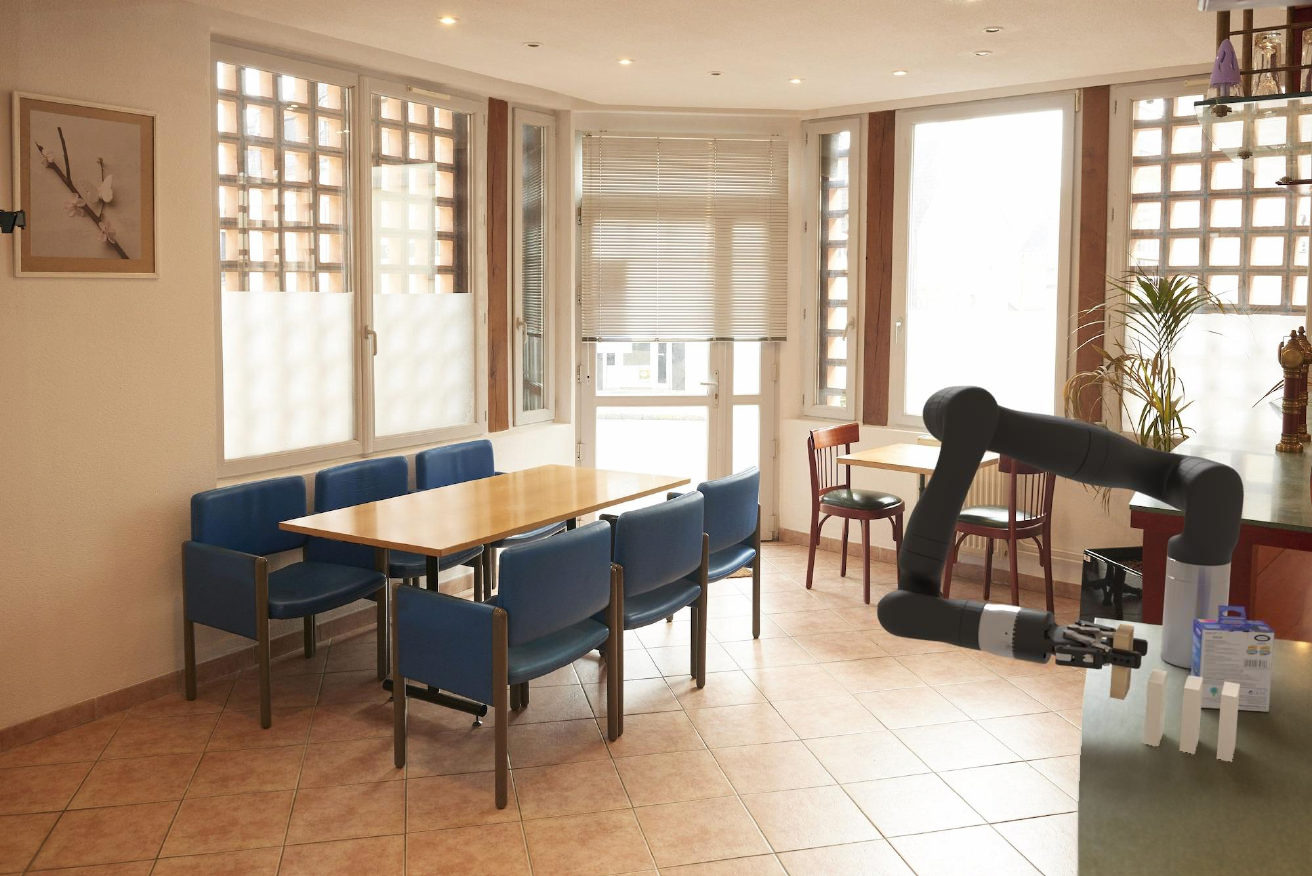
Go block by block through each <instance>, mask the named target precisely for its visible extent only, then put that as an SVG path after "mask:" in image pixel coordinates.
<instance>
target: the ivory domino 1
mask: <svg viewBox="0 0 1312 876" xmlns="http://www.w3.org/2000/svg"><path fill="white" fill-rule="evenodd" d="M1167 681H1168V671H1167V670H1161V669H1155V668H1153V669H1152V671H1151V673H1150V676H1149V677H1148V680H1147V691H1146V705H1145V718H1144V719H1145V721H1144V736H1143V744H1144V745H1146V744H1149V745H1148V746H1151V745H1152V747H1155V746H1160V743H1161V741H1162V738H1163V735H1164V727H1165V712H1166V698H1167V685H1168V684H1167V683H1168V682H1167ZM1160 740H1161V741H1160Z"/></svg>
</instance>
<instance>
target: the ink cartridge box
mask: <svg viewBox="0 0 1312 876" xmlns="http://www.w3.org/2000/svg"><path fill="white" fill-rule="evenodd" d="M1225 611H1227V612H1229V611H1230V612H1232V611H1233V612H1237V613H1239V614H1240V616H1236V615H1227V616H1224V615H1223V614H1222V613H1223V612H1225ZM1246 615H1247V614H1246V611H1245V606H1237V605H1228V606H1223V605H1218V620H1211V619H1194V620H1193V646H1192V667H1191V671H1190V675H1191V676H1196V677H1202V678H1203V686H1202V700H1201V709H1204V708H1205V709H1216V710H1217V709H1218V710H1220V706H1221V694H1222V690H1223V686H1224V682H1225V681H1226V682H1231V683H1237V684H1240V690H1239V703H1238V711H1251V712H1265V713H1267V712H1270V711H1269V710H1270V698H1271V684H1272V666H1273V658H1274V657H1273V656H1274V642H1275V635H1276V634H1275V630H1273V629H1272V628H1271V627H1270V626H1269V625H1268V624H1267V623H1266V622H1264V621H1263V620H1247V616H1246Z"/></svg>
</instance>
